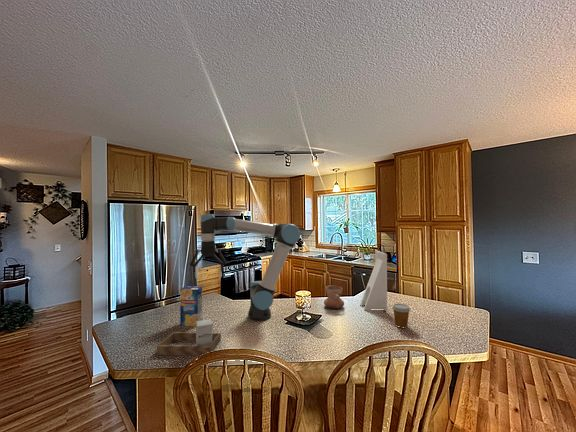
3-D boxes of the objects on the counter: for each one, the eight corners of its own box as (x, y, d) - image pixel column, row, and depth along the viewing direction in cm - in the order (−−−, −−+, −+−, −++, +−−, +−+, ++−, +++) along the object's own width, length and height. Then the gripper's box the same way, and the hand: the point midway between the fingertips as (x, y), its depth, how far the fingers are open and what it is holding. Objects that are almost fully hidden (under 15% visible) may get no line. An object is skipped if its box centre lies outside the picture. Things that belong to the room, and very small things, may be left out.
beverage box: (197, 326, 153) (197, 289, 153) (180, 325, 153) (180, 289, 154) (202, 321, 160) (202, 286, 160) (185, 321, 160) (185, 286, 160)
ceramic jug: (347, 310, 177) (347, 290, 177) (327, 311, 175) (327, 290, 176) (339, 302, 195) (339, 284, 195) (321, 303, 193) (321, 284, 194)
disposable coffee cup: (410, 324, 154) (409, 304, 154) (410, 331, 145) (410, 309, 145) (393, 321, 158) (392, 302, 158) (392, 328, 149) (392, 307, 149)
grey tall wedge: (357, 303, 193) (357, 250, 193) (376, 303, 193) (376, 250, 193) (366, 312, 173) (365, 254, 173) (387, 312, 173) (386, 253, 173)
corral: (220, 340, 135) (220, 332, 135) (210, 355, 120) (210, 347, 120) (173, 339, 136) (173, 331, 136) (156, 354, 121) (156, 346, 121)
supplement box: (196, 352, 123) (196, 326, 123) (195, 345, 129) (195, 320, 130) (212, 349, 126) (212, 323, 126) (210, 342, 132) (210, 318, 132)
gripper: (230, 239, 152) (231, 274, 152) (187, 240, 150) (188, 276, 150) (229, 240, 145) (229, 277, 145) (183, 242, 142) (184, 279, 142)
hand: (208, 277), depth 147 cm, fingers open, 13 cm apart
